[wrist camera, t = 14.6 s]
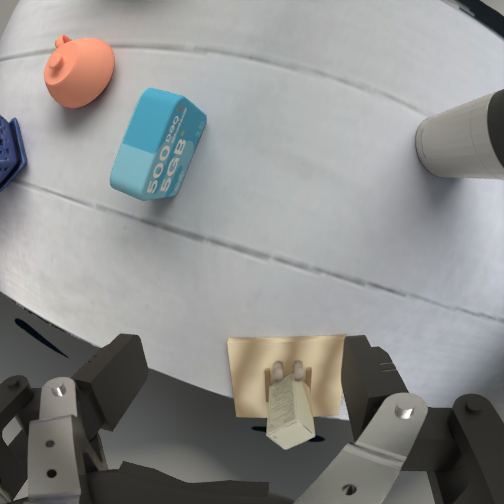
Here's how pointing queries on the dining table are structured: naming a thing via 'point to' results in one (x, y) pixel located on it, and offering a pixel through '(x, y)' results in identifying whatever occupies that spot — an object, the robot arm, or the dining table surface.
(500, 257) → the dining table surface
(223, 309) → the dining table surface
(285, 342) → the tray
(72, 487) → the robot arm
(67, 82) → the sugar bowl
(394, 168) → the dining table surface
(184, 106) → the data package
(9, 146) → the flower pot
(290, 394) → the box
